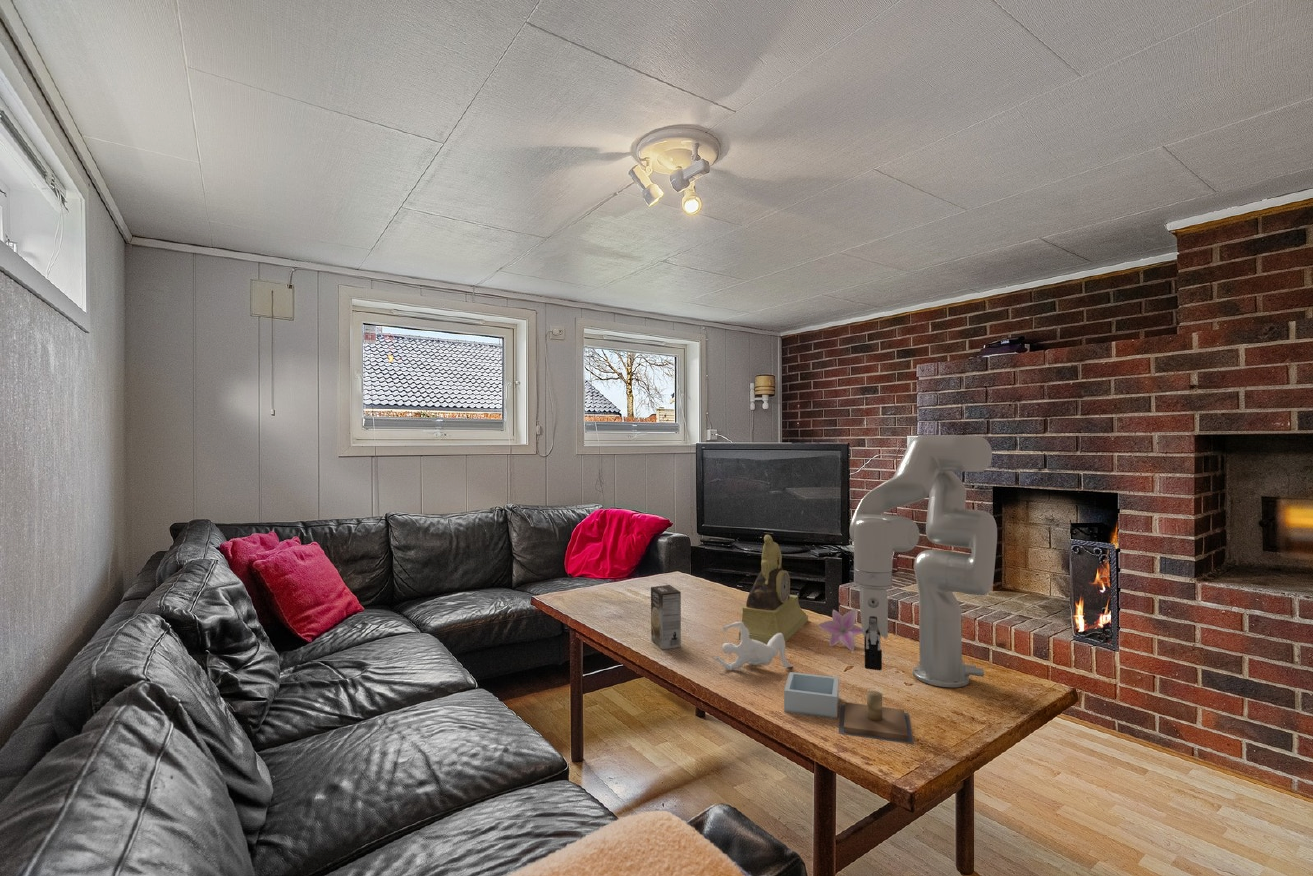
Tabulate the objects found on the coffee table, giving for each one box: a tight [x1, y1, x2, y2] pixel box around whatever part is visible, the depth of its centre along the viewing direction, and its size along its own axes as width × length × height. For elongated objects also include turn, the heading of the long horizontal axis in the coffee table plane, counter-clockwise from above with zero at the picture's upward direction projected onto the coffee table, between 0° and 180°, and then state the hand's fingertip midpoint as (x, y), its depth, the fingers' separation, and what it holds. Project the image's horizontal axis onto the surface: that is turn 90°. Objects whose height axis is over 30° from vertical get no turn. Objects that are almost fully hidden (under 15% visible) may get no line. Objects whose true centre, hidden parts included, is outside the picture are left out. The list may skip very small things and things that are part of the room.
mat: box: [838, 704, 915, 745], centre depth 125 cm, size 14×14×1 cm
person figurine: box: [714, 621, 794, 671], centre depth 156 cm, size 13×13×18 cm
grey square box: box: [783, 671, 840, 720], centre depth 134 cm, size 11×11×5 cm
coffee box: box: [650, 584, 682, 650], centre depth 177 cm, size 9×6×16 cm
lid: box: [844, 690, 908, 741], centre depth 125 cm, size 12×12×6 cm
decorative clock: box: [738, 534, 809, 645], centre depth 189 cm, size 28×13×30 cm, turn 150°
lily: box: [817, 608, 863, 652], centre depth 175 cm, size 12×12×10 cm
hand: (872, 661), depth 125 cm, fingers open, 9 cm apart
